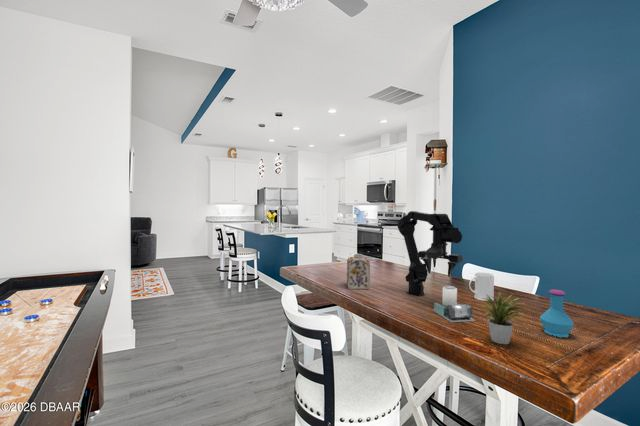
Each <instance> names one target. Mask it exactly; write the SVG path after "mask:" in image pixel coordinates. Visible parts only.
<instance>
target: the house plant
mask: <svg viewBox="0 0 640 426" xmlns="http://www.w3.org/2000/svg"><path fill="white" fill-rule="evenodd" d="M489 296H490V295H489ZM489 296H488V295H487V297H488V298H489V299H488V298H487V297H486V298H487V300H488V301H485V302H486V303H487V304H488V305H489V306H488V305H484V304H483V305H481V307H482V308H484V309H485V310H486V309H487V311H486V312H485V317H488V316H489V317H490V316H492V317H490V318H488V320H487V322H488V327H489V335H490V340H491V341H492V342H494V343H496V344H499V345H509V344H510V343H511V341H510V340H511V337H512V332H513V328H514V322H515V318H516V317H520V318H523V315H525V313H523V312H521V313H520V312H518V311H514V310H522V309H523V310H524V309H525V310H529V308H527V307H524V305H522V304H521V302H518V303H517V302H516V301H517V300H519V299H520V297H517V298H514V299H512V300H511V301H509V300H510V298H511V297H512V296H513V293H511V294H510V295H509V296H507V298H506V299H504V301H503V297H502V293H501V290H499V291H498V294H497V298H495V297H493V298H494V301H495V302H494V301H493V300H492V299H491V298H490V297H489ZM483 299H484V300H485V298H483ZM515 302H516V303H515ZM519 305H520V306H521V307H519ZM512 311H513V312H512ZM510 320H512V321H513V322H512V321H510Z"/></svg>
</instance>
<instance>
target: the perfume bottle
mask: <svg viewBox="0 0 640 426" xmlns="http://www.w3.org/2000/svg"><path fill="white" fill-rule="evenodd" d="M548 293H549V295H550V301H549V303H550V305H549V306H550V307H549V308H548V309H546V311H545V312H543V313H542V314H541V315H540V318H539V320H540V323H541V324H542V328H544V329H543V330H544V331H543V332H544V333H545V334H547V335H549V336H552V335H553V336H552V337H556V336H557V337H556V338H562V337H566V338H569V334H570V333H571V332H572V330H573V328H574V321H573V320H572V319H571V318H570V316H569V315H568V314H567V313H566V311H565V310H564V297H565V295H566V292H565V291H563V290H560V289H550V290H548Z"/></svg>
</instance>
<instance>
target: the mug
mask: <svg viewBox="0 0 640 426" xmlns="http://www.w3.org/2000/svg"><path fill="white" fill-rule="evenodd" d="M473 280H474V290H473V289H472V287H471V283H472V281H473ZM494 283H495V275H494V274H493V273H489V272H480V271H479V272H478V271H477V272H474V276H473V277H471V279H470V280H469V283H468V288H469V290H470V291H471V292H472V293H474V296H473V298H474V299H475V300H478V301H482V302H486V301H487V302H489V301H488V300H487V298H488V297H487V295H488V296H489V295H490V296H489V297H490V298H491V299H492V300H493V302H494V301H495V300H494V299H495V297H494V294H495V293H494V291H495V288H494V287H495V286H494V285H495V284H494ZM486 297H487V298H486ZM493 297H494V298H493ZM483 298H485V300H484V299H483ZM488 299H489V298H488Z"/></svg>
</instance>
